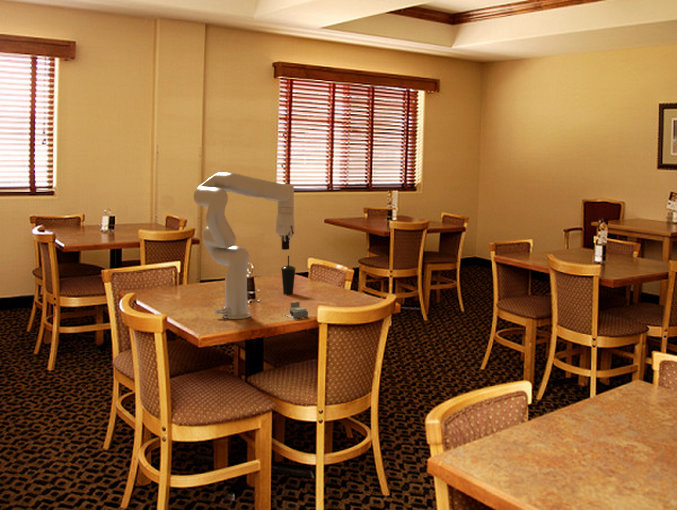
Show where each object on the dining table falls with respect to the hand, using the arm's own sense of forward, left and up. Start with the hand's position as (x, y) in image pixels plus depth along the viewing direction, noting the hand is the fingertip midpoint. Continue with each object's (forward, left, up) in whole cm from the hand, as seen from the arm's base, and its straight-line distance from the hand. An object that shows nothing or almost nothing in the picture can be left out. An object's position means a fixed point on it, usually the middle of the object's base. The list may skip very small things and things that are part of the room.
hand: (285, 249), depth 327 cm
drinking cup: (+15, +22, -27) cm, 38 cm away
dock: (-8, -22, -27) cm, 36 cm away
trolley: (-6, -22, -27) cm, 35 cm away
